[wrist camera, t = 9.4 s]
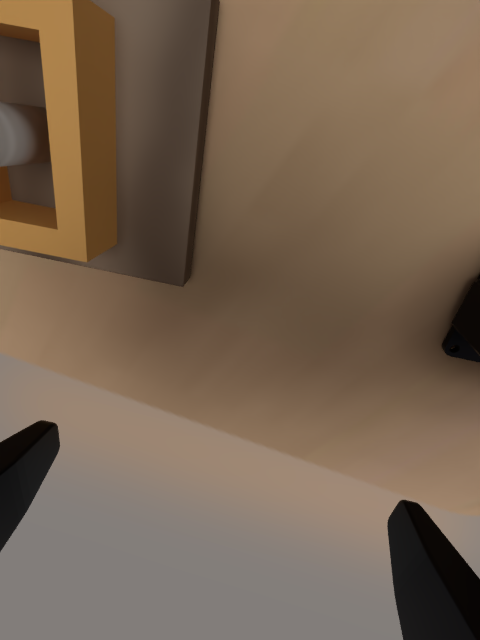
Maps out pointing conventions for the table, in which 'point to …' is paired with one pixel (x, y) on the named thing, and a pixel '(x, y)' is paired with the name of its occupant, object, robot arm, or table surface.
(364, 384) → the table surface
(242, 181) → the table surface
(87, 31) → the tan rectangular frame
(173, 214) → the keeper board
